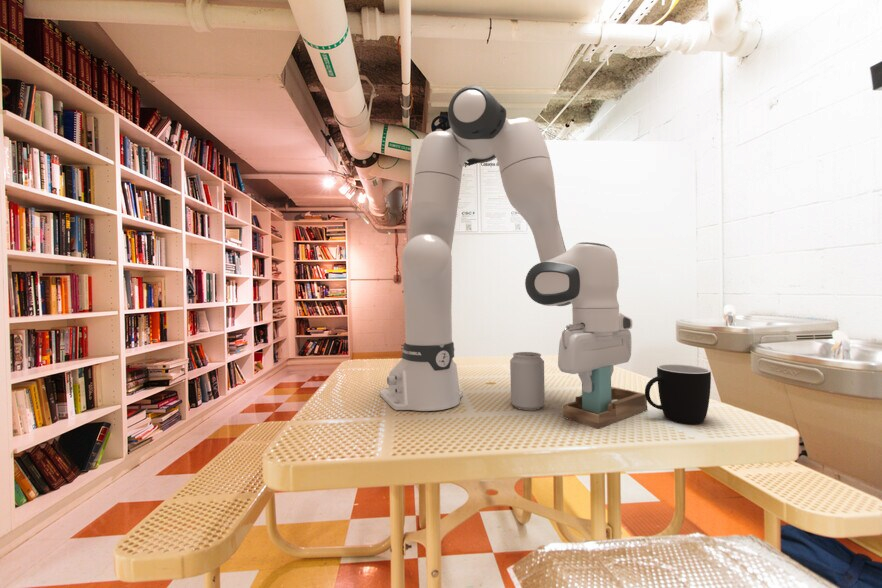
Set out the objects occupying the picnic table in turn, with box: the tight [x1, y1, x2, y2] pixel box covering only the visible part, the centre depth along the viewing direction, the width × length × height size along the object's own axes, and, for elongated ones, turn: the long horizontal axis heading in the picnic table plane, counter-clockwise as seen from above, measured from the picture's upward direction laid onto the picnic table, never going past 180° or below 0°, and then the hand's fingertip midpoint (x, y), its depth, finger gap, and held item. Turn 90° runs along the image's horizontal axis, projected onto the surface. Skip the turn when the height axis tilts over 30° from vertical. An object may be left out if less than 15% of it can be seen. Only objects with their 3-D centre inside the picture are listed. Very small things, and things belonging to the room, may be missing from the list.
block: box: [581, 366, 612, 414], centre depth 76 cm, size 4×4×9 cm
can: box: [509, 351, 546, 411], centre depth 84 cm, size 8×8×12 cm
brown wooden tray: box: [562, 386, 648, 430], centre depth 78 cm, size 8×18×4 cm, turn 124°
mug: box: [644, 363, 712, 425], centre depth 74 cm, size 12×9×10 cm
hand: (596, 389), depth 76 cm, fingers closed on block, 4 cm apart
